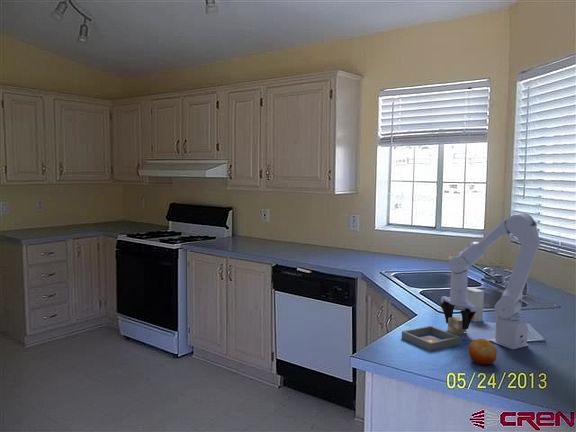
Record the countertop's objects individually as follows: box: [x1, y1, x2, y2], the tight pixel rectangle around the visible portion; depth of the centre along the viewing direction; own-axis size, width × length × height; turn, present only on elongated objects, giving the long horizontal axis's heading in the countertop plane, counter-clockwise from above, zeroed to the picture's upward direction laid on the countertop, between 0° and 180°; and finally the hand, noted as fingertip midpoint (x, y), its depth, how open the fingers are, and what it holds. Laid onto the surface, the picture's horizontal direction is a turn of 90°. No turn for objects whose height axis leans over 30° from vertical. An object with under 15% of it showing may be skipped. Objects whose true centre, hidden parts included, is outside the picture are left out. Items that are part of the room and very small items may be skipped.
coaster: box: [421, 336, 441, 342], centre depth 165 cm, size 7×7×1 cm
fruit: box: [467, 338, 498, 366], centre depth 147 cm, size 8×8×8 cm
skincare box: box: [467, 287, 485, 323], centre depth 190 cm, size 6×4×12 cm
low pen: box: [401, 325, 462, 352], centre depth 165 cm, size 14×14×2 cm
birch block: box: [447, 315, 467, 336], centre depth 175 cm, size 4×4×5 cm
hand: (457, 326), depth 175 cm, fingers open, 7 cm apart
